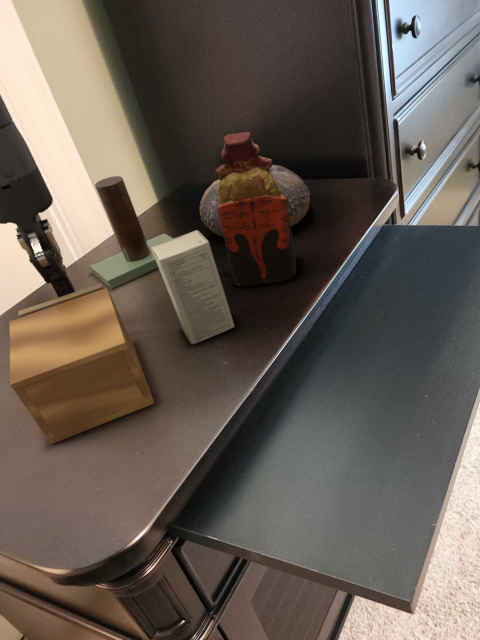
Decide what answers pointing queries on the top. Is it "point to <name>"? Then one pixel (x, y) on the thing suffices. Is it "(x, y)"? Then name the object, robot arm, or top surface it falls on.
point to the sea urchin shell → (286, 182)
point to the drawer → (60, 300)
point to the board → (126, 265)
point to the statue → (253, 215)
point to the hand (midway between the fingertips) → (70, 301)
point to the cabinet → (76, 366)
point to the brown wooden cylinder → (123, 218)
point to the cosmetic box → (194, 286)
